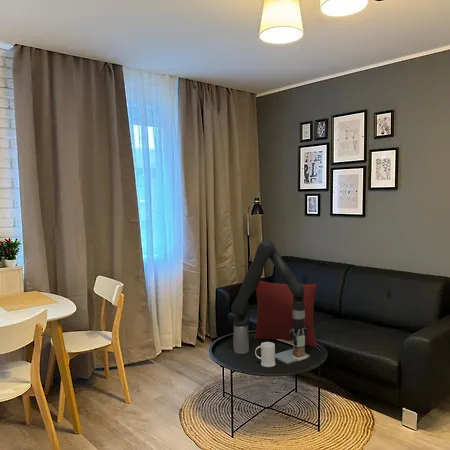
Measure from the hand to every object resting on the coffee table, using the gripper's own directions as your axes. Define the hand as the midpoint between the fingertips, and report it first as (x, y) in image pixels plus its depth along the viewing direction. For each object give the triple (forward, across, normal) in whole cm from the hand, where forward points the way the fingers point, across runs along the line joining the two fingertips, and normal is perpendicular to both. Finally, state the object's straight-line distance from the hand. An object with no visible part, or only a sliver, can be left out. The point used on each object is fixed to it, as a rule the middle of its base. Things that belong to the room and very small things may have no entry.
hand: (298, 344), depth 263 cm
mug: (+9, +22, -5) cm, 24 cm away
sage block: (+1, 0, 0) cm, 1 cm away
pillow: (+9, -10, -24) cm, 27 cm away
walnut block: (+7, 0, 0) cm, 7 cm away
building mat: (+8, +3, -4) cm, 10 cm away
